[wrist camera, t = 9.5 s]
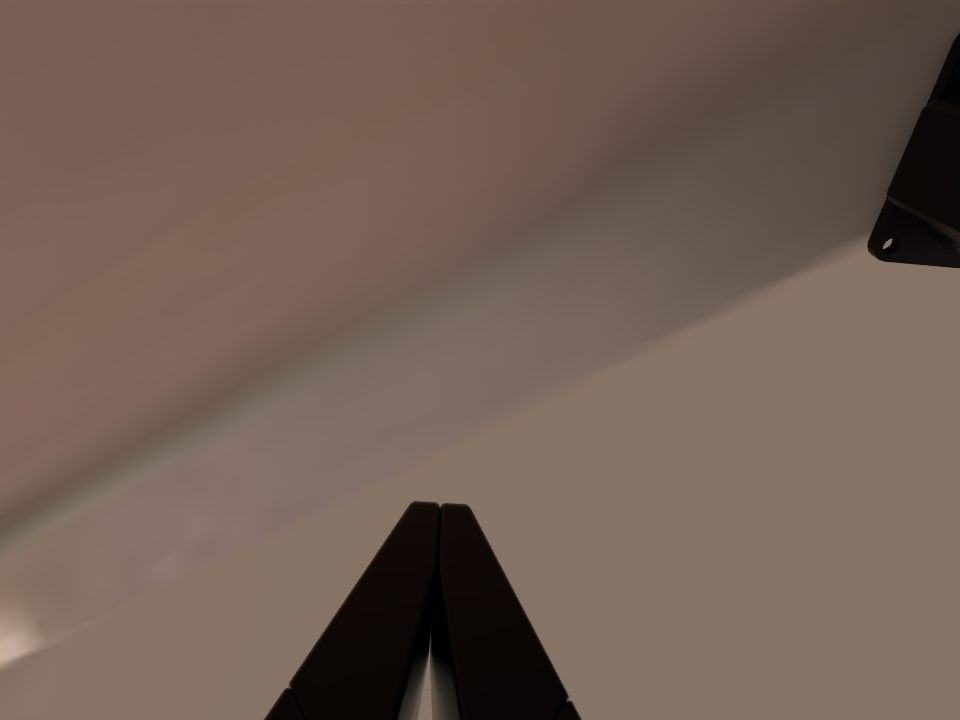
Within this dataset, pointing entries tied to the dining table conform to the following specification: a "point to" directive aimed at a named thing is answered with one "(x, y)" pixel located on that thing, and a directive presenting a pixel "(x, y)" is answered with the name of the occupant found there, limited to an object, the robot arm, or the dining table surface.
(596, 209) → the dining table surface
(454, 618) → the robot arm
